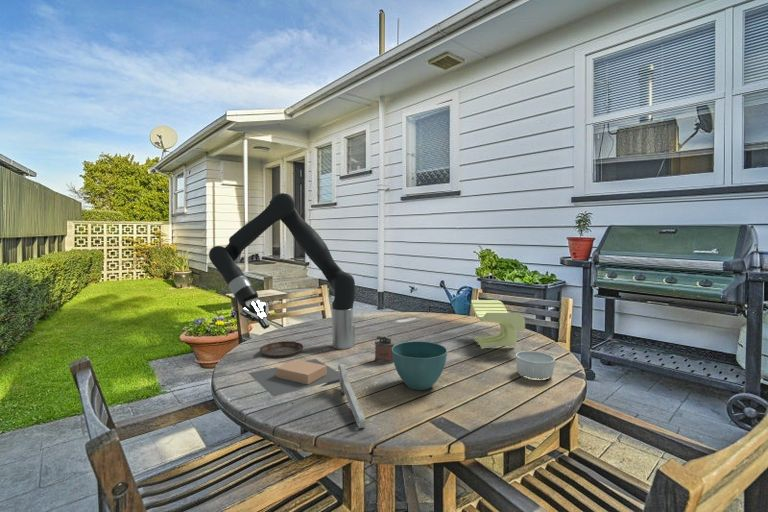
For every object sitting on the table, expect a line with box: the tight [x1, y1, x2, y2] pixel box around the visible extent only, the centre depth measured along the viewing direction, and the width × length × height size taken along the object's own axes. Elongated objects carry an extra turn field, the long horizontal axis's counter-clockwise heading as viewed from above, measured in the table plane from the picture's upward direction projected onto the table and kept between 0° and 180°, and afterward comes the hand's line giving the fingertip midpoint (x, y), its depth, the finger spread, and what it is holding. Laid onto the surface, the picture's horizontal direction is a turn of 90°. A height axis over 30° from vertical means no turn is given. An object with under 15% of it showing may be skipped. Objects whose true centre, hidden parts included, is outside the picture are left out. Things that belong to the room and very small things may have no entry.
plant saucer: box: [259, 340, 304, 359], centre depth 161 cm, size 18×18×3 cm
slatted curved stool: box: [470, 299, 526, 347], centre depth 174 cm, size 30×16×18 cm, turn 179°
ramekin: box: [514, 350, 556, 379], centre depth 137 cm, size 13×13×7 cm
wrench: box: [337, 363, 367, 429], centre depth 113 cm, size 8×2×30 cm
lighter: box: [374, 335, 395, 364], centre depth 151 cm, size 8×3×10 cm, turn 65°
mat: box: [248, 358, 341, 397], centre depth 134 cm, size 26×24×1 cm
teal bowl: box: [392, 341, 448, 391], centre depth 128 cm, size 18×18×12 cm
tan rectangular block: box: [276, 359, 328, 384], centre depth 133 cm, size 3×10×14 cm
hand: (267, 327), depth 143 cm, fingers closed
